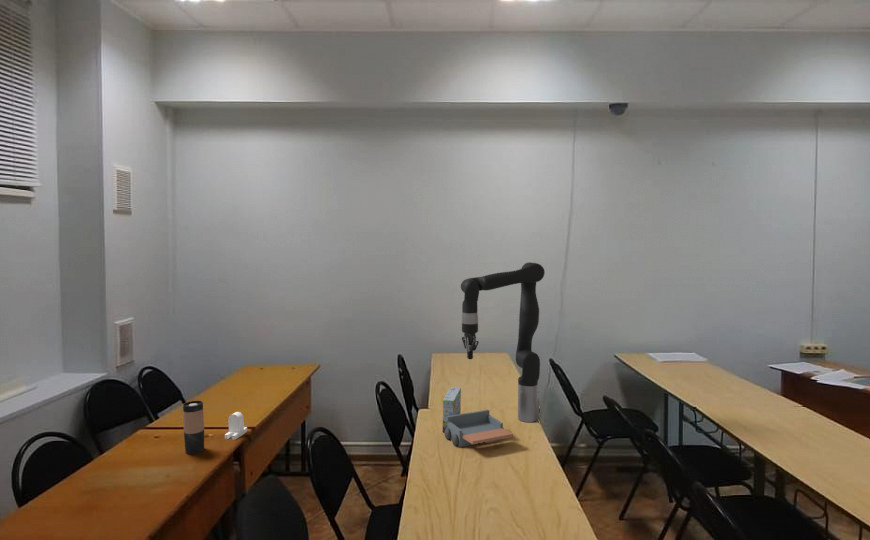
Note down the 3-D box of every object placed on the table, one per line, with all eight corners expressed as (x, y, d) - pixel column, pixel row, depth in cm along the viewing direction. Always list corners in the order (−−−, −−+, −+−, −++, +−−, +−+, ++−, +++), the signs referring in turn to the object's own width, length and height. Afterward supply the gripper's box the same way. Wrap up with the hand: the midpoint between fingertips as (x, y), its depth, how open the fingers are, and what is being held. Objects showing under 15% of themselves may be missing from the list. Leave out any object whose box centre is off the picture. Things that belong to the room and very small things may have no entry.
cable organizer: (247, 431, 235) (247, 409, 235) (235, 439, 226) (234, 417, 225) (237, 430, 236) (236, 409, 236) (224, 439, 227) (223, 416, 226)
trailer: (490, 428, 236) (490, 409, 236) (505, 438, 225) (505, 418, 224) (444, 436, 227) (443, 416, 227) (456, 447, 215) (456, 426, 215)
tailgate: (502, 428, 222) (513, 433, 214) (502, 432, 222) (513, 438, 214) (462, 435, 215) (472, 441, 207) (462, 439, 215) (472, 446, 207)
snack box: (454, 433, 231) (454, 400, 230) (442, 432, 232) (441, 399, 231) (461, 417, 252) (461, 386, 251) (450, 416, 253) (449, 386, 252)
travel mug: (209, 448, 217) (207, 401, 215) (195, 455, 210) (193, 407, 208) (194, 445, 219) (192, 399, 218) (180, 453, 212) (178, 405, 211)
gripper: (484, 323, 235) (484, 361, 236) (470, 319, 247) (470, 355, 248) (469, 324, 232) (469, 362, 233) (456, 320, 244) (456, 356, 245)
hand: (470, 358), depth 240 cm, fingers closed
